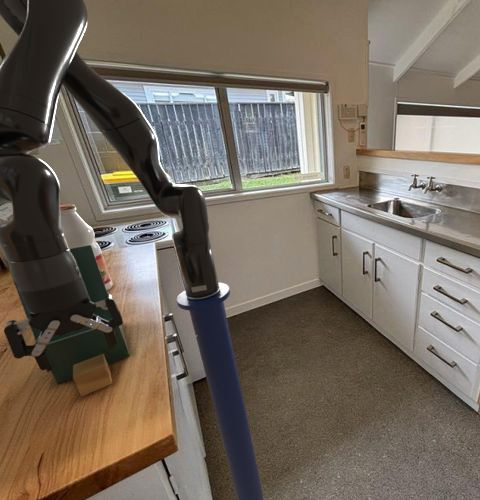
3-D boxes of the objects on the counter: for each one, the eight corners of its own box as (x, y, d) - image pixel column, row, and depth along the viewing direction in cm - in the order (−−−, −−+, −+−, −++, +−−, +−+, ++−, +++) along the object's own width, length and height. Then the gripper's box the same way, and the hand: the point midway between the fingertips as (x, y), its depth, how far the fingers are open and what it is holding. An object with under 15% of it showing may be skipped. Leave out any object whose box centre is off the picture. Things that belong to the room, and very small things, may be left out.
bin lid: (6, 260, 51) (-4, 258, 47) (91, 245, 58) (88, 242, 54) (38, 345, 52) (31, 350, 48) (116, 320, 60) (116, 322, 55)
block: (81, 382, 56) (73, 364, 54) (110, 371, 58) (103, 353, 57) (81, 396, 52) (72, 378, 51) (112, 383, 55) (104, 365, 54)
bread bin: (60, 345, 66) (45, 313, 63) (122, 325, 73) (111, 295, 70) (57, 384, 55) (39, 347, 52) (129, 355, 63) (117, 322, 60)
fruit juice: (118, 281, 98) (90, 201, 88) (106, 294, 89) (74, 207, 80) (84, 286, 95) (52, 203, 85) (69, 299, 87) (31, 210, 77)
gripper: (103, 261, 54) (127, 332, 60) (-10, 285, 46) (30, 365, 51) (106, 273, 49) (132, 349, 55) (-22, 302, 40) (24, 390, 46)
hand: (82, 357), depth 53 cm, fingers open, 8 cm apart
